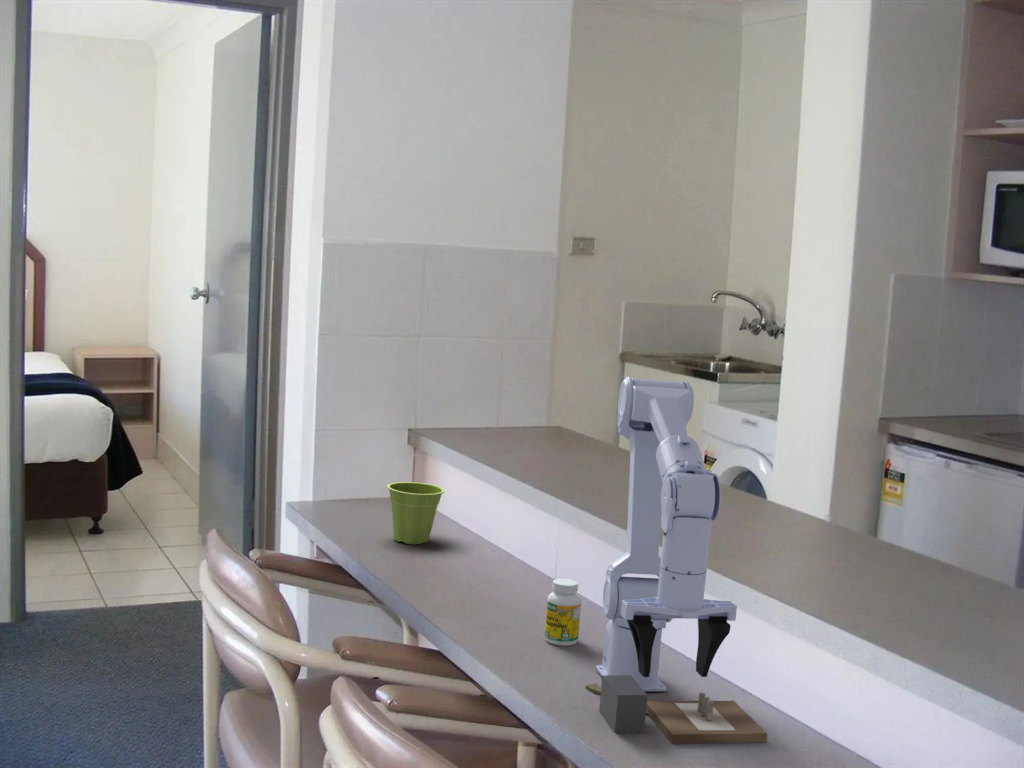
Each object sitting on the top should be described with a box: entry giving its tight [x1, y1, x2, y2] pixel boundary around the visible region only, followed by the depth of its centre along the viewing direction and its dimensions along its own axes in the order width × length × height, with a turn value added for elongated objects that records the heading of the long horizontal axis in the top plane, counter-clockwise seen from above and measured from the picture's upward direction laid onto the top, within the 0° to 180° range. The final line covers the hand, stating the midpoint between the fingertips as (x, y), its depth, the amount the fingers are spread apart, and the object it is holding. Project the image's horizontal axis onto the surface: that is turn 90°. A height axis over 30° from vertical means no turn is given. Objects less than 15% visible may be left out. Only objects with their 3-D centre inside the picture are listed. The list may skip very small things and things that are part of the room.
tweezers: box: [585, 683, 649, 716], centre depth 160 cm, size 12×2×1 cm, turn 40°
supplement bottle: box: [544, 578, 582, 647], centre depth 183 cm, size 5×5×10 cm
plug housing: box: [598, 675, 649, 734], centre depth 154 cm, size 9×4×5 cm, turn 12°
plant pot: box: [386, 481, 445, 545], centre depth 240 cm, size 12×12×11 cm
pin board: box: [646, 692, 768, 744], centre depth 154 cm, size 11×13×4 cm
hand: (672, 674), depth 145 cm, fingers open, 7 cm apart
